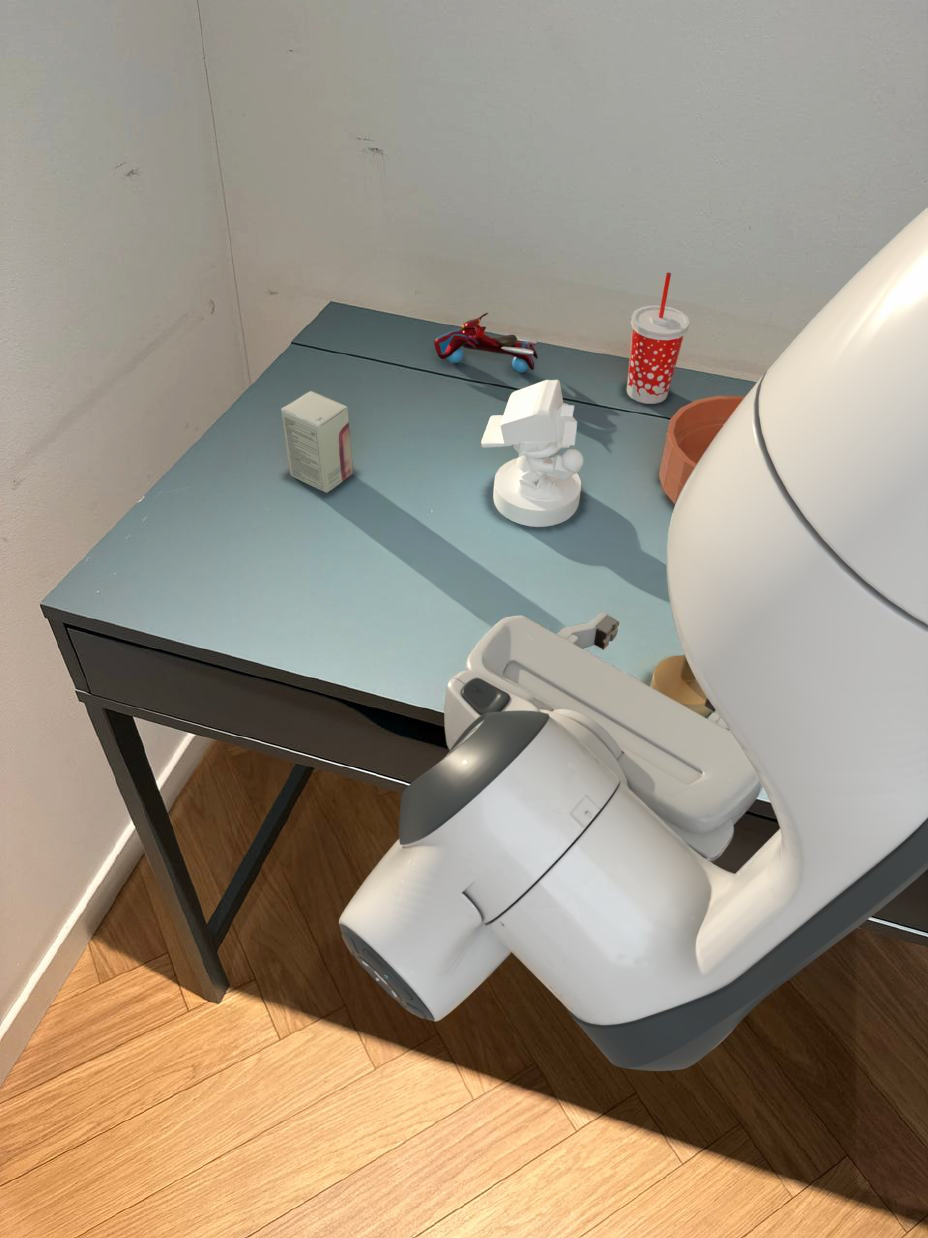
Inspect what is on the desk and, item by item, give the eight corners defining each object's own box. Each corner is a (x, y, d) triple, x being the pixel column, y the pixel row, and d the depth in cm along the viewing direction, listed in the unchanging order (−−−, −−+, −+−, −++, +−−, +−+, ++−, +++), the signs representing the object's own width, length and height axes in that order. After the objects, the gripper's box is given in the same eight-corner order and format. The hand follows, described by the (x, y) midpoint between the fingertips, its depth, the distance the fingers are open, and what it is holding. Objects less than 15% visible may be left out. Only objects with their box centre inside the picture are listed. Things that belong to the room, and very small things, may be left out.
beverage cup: (673, 410, 106) (698, 290, 96) (617, 403, 107) (636, 283, 97) (675, 381, 110) (699, 263, 100) (622, 374, 111) (641, 257, 101)
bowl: (833, 477, 98) (851, 428, 94) (780, 559, 89) (797, 508, 85) (695, 428, 104) (706, 379, 99) (632, 500, 94) (641, 449, 90)
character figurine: (572, 533, 91) (586, 425, 82) (474, 517, 92) (478, 409, 84) (584, 478, 97) (599, 372, 88) (492, 464, 98) (497, 359, 90)
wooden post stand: (725, 689, 77) (784, 510, 64) (698, 731, 74) (755, 552, 61) (666, 662, 79) (712, 483, 66) (638, 702, 76) (680, 522, 63)
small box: (355, 473, 96) (350, 406, 91) (326, 495, 94) (319, 426, 88) (317, 455, 98) (310, 388, 93) (288, 475, 96) (279, 407, 90)
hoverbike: (439, 347, 114) (439, 303, 110) (538, 362, 112) (542, 317, 108) (428, 369, 111) (428, 324, 107) (530, 385, 109) (534, 340, 105)
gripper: (716, 849, 52) (822, 697, 60) (427, 669, 61) (552, 557, 69) (694, 906, 57) (795, 758, 64) (428, 731, 65) (545, 620, 73)
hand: (667, 653), depth 66 cm, fingers open, 8 cm apart
